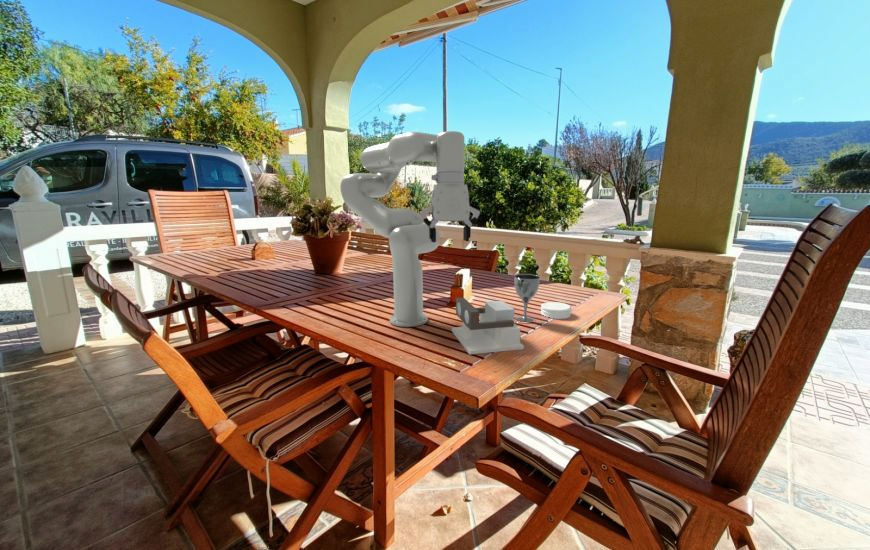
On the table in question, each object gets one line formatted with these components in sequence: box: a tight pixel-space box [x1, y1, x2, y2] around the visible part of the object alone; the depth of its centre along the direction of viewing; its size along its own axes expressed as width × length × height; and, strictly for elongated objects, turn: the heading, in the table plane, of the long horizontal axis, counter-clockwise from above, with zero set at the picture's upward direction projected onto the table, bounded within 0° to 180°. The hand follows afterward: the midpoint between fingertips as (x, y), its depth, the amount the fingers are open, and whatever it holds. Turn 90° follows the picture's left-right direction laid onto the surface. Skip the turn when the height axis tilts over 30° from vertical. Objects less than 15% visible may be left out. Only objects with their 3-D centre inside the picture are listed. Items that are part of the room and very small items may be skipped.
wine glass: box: [514, 273, 541, 322], centre depth 126 cm, size 8×8×15 cm
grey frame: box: [455, 297, 515, 330], centre depth 110 cm, size 12×14×5 cm
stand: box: [451, 300, 525, 356], centre depth 111 cm, size 16×18×10 cm
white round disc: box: [540, 301, 572, 320], centre depth 133 cm, size 10×10×4 cm
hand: (449, 241), depth 109 cm, fingers open, 9 cm apart
